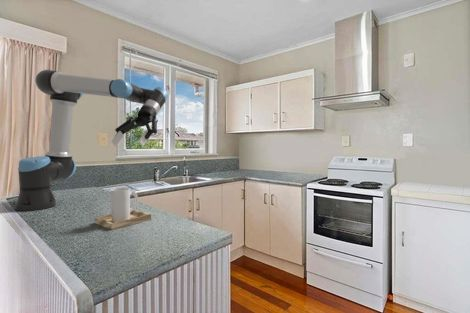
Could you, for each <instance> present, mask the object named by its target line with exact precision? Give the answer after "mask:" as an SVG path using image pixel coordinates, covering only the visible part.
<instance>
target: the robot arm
mask: <svg viewBox="0 0 470 313" xmlns="http://www.w3.org/2000/svg"><path fill="white" fill-rule="evenodd" d="M35 85H36V87H37V88H38V89H39V91H41V93H44V94H46V95H47V96H49V101H50V102H51V103H52V115H51V123H50V124H51V126H50V127H51V128H50V138H49V150H48V151H47V152H46V153H45V155H41V156H40V155H39V156H31V157H25V158H22V159H20V160H19V161H18V168H17V170H18V183H19V184H18V185H19V192H18V197H17V199H16V202H15V203H14V204H15V205H14V206H15V207H14V208H15V209H14V210H16V211H19V212H22V211H23V212H26V211H27V212H28V211H40V210H44V209H49V208H53V207H55V206H56V205H57V199H56V197H55V195H54V193H53V190H52V182H58V181H64V180H68V179H69V178H71V177H72V176H73V175H75V173H76V171H77V164H76V162H75V160H74V159H73V154H72V153H70V147H71V146H70V145H71V138H72V136H71V135H72V127H73V126H72V125H73V113H74V107H75V106H76V105H77V104H78V100H80V98H82V96H83V94H84V95H85V94H86V95H91V96H93V95H94V96H102V97H111V98H118V99H125V100H126V101H128V102H132V103H137V104H142V106H141V107H140V108H139V110H138V111H137V116H136V117H133V116H130V117H129V118H128V119H127V120H125V121H124V122H123V123H121V124H120V125H119V126H118V127H117V128H115V129H114V131H115V132H116V134H115V135H114V137H113V139H112V140H111V143H112V144H113V146H114V147H117V146H118V145H119V143H120V141H121V140H122V139H123V137H124V134H126V133H128V132H130V131H131V130H134V129H136V128H139V127H146V128H145V129H146V130H145V131H144V132H143V134H142V135H141V137H140V138H139V140H138V143H139V145H140V146H141V147H144V145H145V144H146V143H147V141H148V140H149V138H151V136H153V134H154V135H156V134H157V133H158V125H157V124H158V122H159V120H158V118H157V115H158V113H160V111H161V109H162V107H163V106H164V104H166V101H167V99H168V98H169V97H168V96H169V94H168V91H167V90H166V89H165V88H163V87H161V86H157V87H155V88H154V89H153V90H152V89H149V88H148V89H147V88H143V87H140V86H138V85H135V84H133V83H131V82H129V81H127V80H125V79H121V78H117V79H107V78H99V77H89V76H81V75H72V74H65V73H63V72H62V71H57V70H52V69H43V70H41V71H39V72H38V73H37V75H36V77H35ZM150 123H151V126H150Z"/></svg>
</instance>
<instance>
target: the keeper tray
mask: <svg viewBox="0 0 470 313" xmlns="http://www.w3.org/2000/svg"><path fill="white" fill-rule="evenodd" d="M150 220H152V214H151V213H148V212H144V211H141V210H137V209H136V210H135V211H132V212H130V219H127V220H123V221H119V222H115V223H114V222H112V213H111V214H105V215H101V216H96V217H94V224H96V225H98V226H101V227H103V228H105V229H109V230H111V231H114V230H118V229H121V228H125V227H128V226H132V225H136V224H140V223H144V222H148V221H150Z"/></svg>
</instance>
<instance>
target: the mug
mask: <svg viewBox="0 0 470 313" xmlns="http://www.w3.org/2000/svg"><path fill="white" fill-rule="evenodd" d="M131 196H133V197H134V204H133V206H132V207H131ZM138 203H139V196H138V193H137V192H136V190H131V188H130V187H117V188H111V189H110V206H111V207H110V208H111V209H110V210H111V211H110V212H111V214H112V222H114V223H115V222H119V221H123V220H127V219H130V212H132V211H135V210H137V206H138Z"/></svg>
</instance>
